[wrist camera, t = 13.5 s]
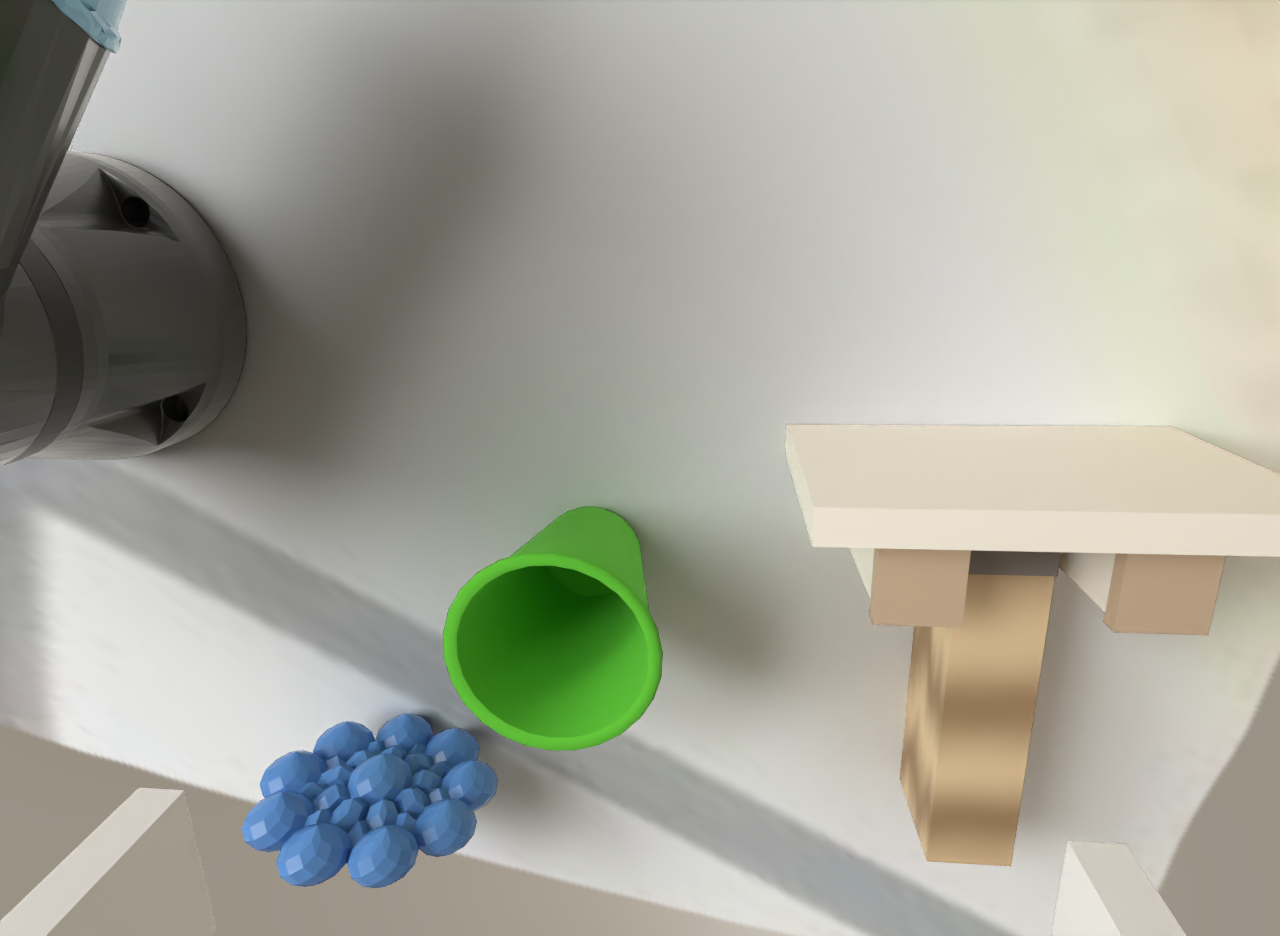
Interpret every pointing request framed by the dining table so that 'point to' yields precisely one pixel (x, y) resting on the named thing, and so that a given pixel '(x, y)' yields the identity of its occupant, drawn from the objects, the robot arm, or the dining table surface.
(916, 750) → the block
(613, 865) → the dining table surface
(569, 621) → the cup
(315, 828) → the grapes
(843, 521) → the headboard
